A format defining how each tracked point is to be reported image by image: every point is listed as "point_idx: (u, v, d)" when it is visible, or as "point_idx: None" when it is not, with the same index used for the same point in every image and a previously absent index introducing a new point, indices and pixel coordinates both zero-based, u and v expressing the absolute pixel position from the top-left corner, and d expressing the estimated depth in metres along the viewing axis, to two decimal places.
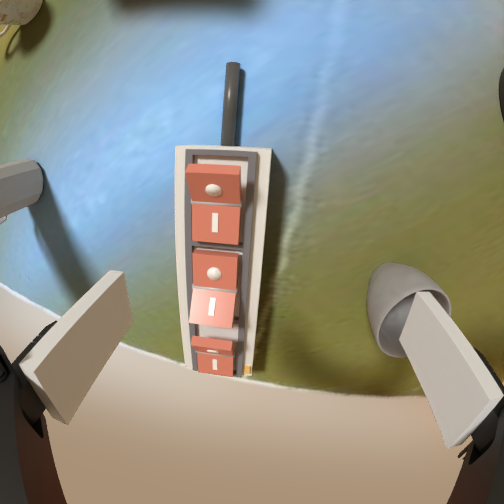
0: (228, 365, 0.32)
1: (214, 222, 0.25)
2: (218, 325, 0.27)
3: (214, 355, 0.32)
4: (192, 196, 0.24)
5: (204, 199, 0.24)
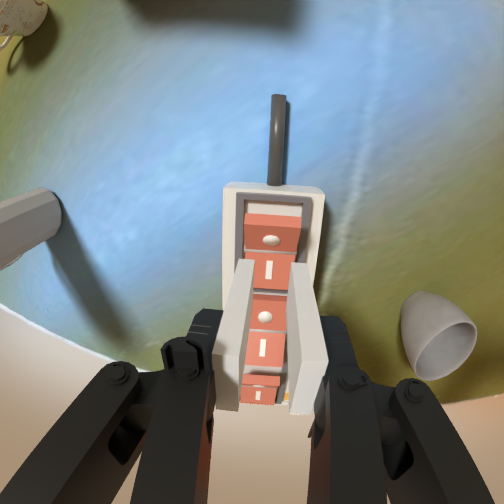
0: (271, 395, 0.32)
1: (268, 269, 0.25)
2: (269, 365, 0.27)
3: (258, 388, 0.31)
4: (247, 245, 0.24)
5: (259, 247, 0.24)
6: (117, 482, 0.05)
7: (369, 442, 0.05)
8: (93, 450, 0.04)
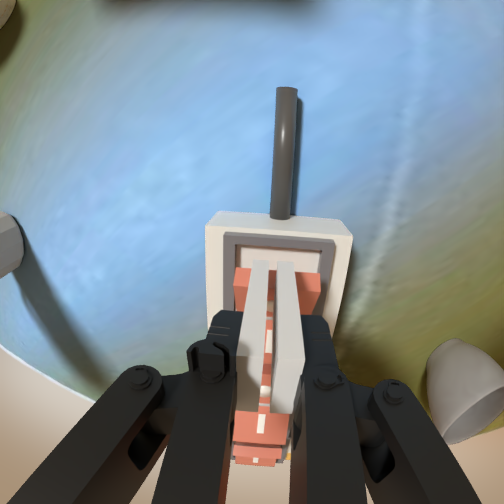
0: (271, 459, 0.24)
1: (269, 341, 0.17)
2: (269, 442, 0.19)
3: None
4: (239, 310, 0.16)
5: None
6: (134, 487, 0.05)
7: (346, 443, 0.05)
8: (113, 457, 0.04)
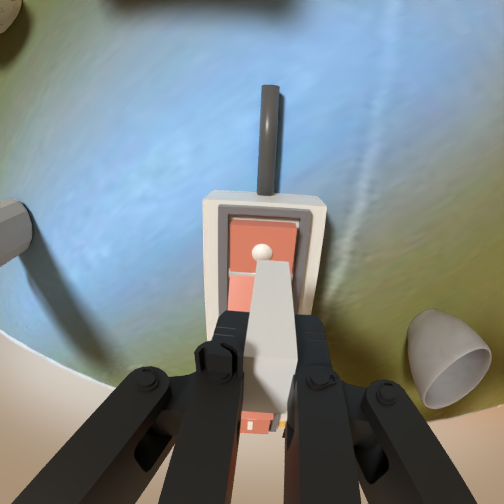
0: (264, 425, 0.28)
1: None
2: None
3: (250, 418, 0.27)
4: (232, 263, 0.20)
5: (247, 268, 0.20)
6: (139, 489, 0.05)
7: (340, 443, 0.05)
8: (119, 459, 0.04)
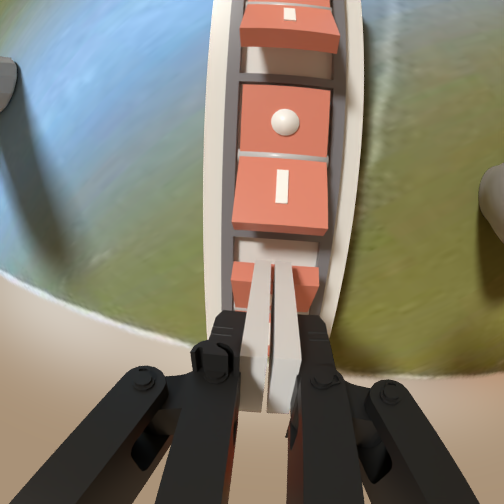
0: None
1: (288, 13, 0.10)
2: (299, 223, 0.13)
3: (270, 313, 0.17)
4: None
5: None
6: (136, 488, 0.05)
7: (343, 443, 0.05)
8: (116, 458, 0.04)
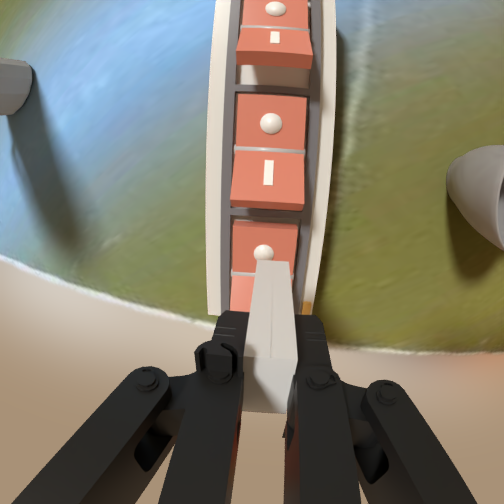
0: None
1: (274, 37, 0.13)
2: (281, 200, 0.16)
3: None
4: (245, 18, 0.14)
5: (260, 21, 0.14)
6: (139, 489, 0.05)
7: (340, 443, 0.05)
8: (119, 459, 0.04)
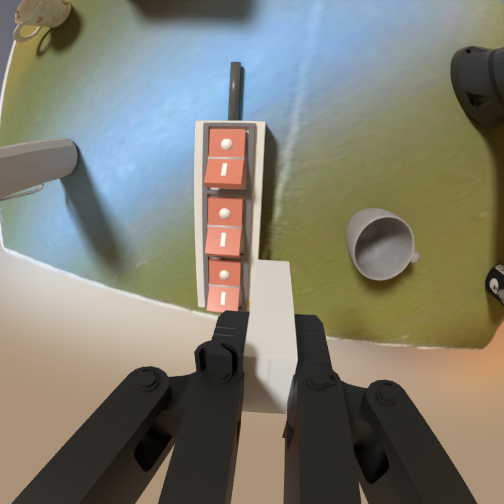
0: (235, 298, 0.40)
1: (223, 169, 0.33)
2: (228, 253, 0.36)
3: (224, 287, 0.40)
4: (210, 151, 0.33)
5: (218, 154, 0.33)
6: (139, 489, 0.05)
7: (340, 443, 0.05)
8: (119, 459, 0.04)
